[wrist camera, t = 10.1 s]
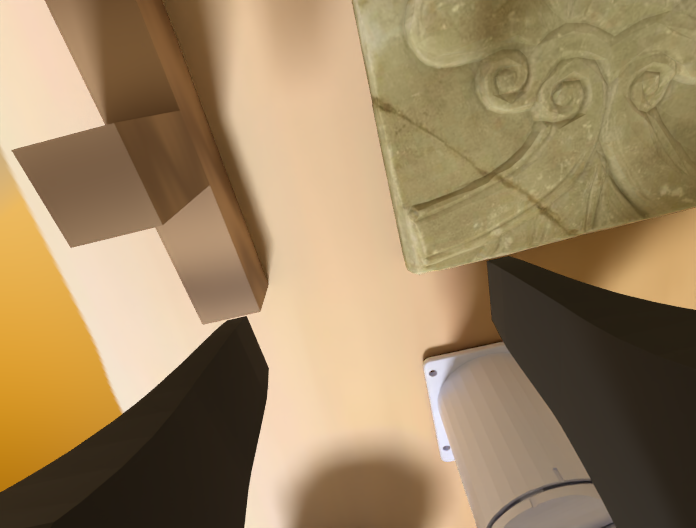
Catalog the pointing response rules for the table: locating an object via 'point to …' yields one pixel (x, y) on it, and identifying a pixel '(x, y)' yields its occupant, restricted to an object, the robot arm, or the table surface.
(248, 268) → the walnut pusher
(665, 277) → the table surface
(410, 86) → the decorative tile
